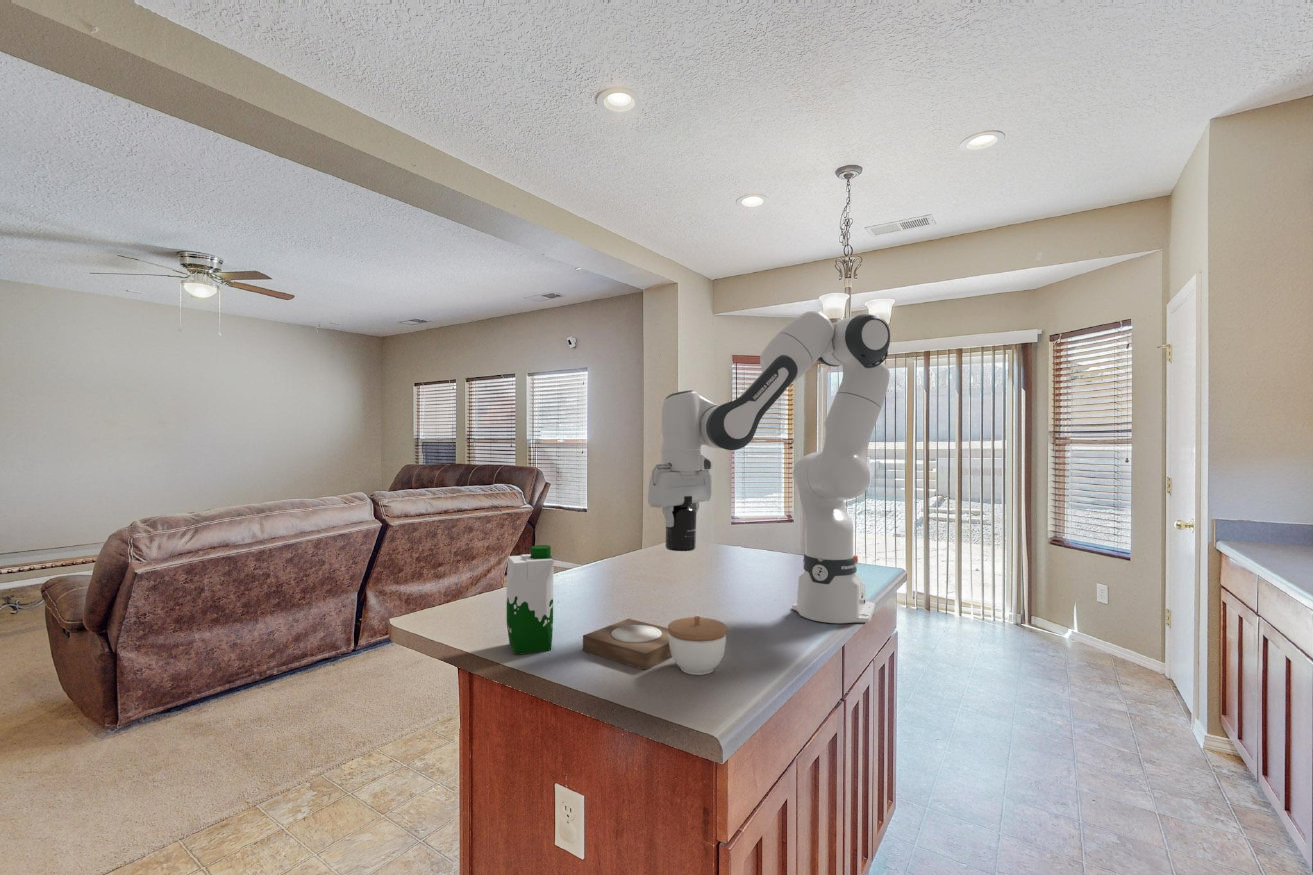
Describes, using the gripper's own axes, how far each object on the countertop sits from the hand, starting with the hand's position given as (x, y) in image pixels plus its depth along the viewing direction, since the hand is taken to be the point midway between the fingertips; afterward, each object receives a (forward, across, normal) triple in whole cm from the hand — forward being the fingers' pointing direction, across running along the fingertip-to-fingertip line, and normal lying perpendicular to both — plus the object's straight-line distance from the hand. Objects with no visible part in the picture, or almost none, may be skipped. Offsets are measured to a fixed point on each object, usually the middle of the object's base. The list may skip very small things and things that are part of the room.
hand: (681, 524), depth 127 cm
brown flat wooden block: (+23, -17, -1) cm, 29 cm away
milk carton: (+23, -29, +17) cm, 41 cm away
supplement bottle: (+6, 0, 0) cm, 6 cm away
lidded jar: (+23, -18, -16) cm, 33 cm away
